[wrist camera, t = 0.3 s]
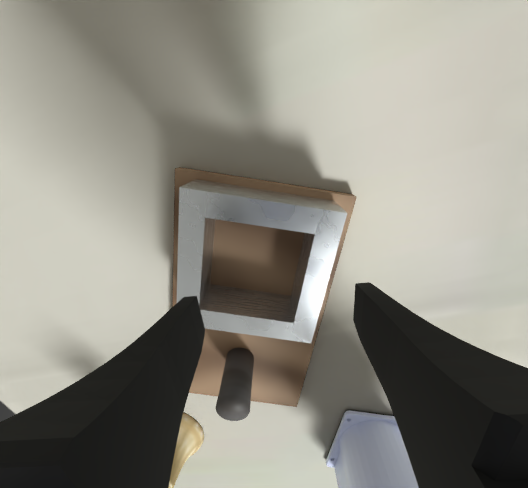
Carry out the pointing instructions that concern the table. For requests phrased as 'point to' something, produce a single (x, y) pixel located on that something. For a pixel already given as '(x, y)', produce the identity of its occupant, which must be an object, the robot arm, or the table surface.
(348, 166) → the table surface
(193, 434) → the hand bell
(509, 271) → the table surface
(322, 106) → the table surface
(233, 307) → the grey square frame
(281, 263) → the brown board
